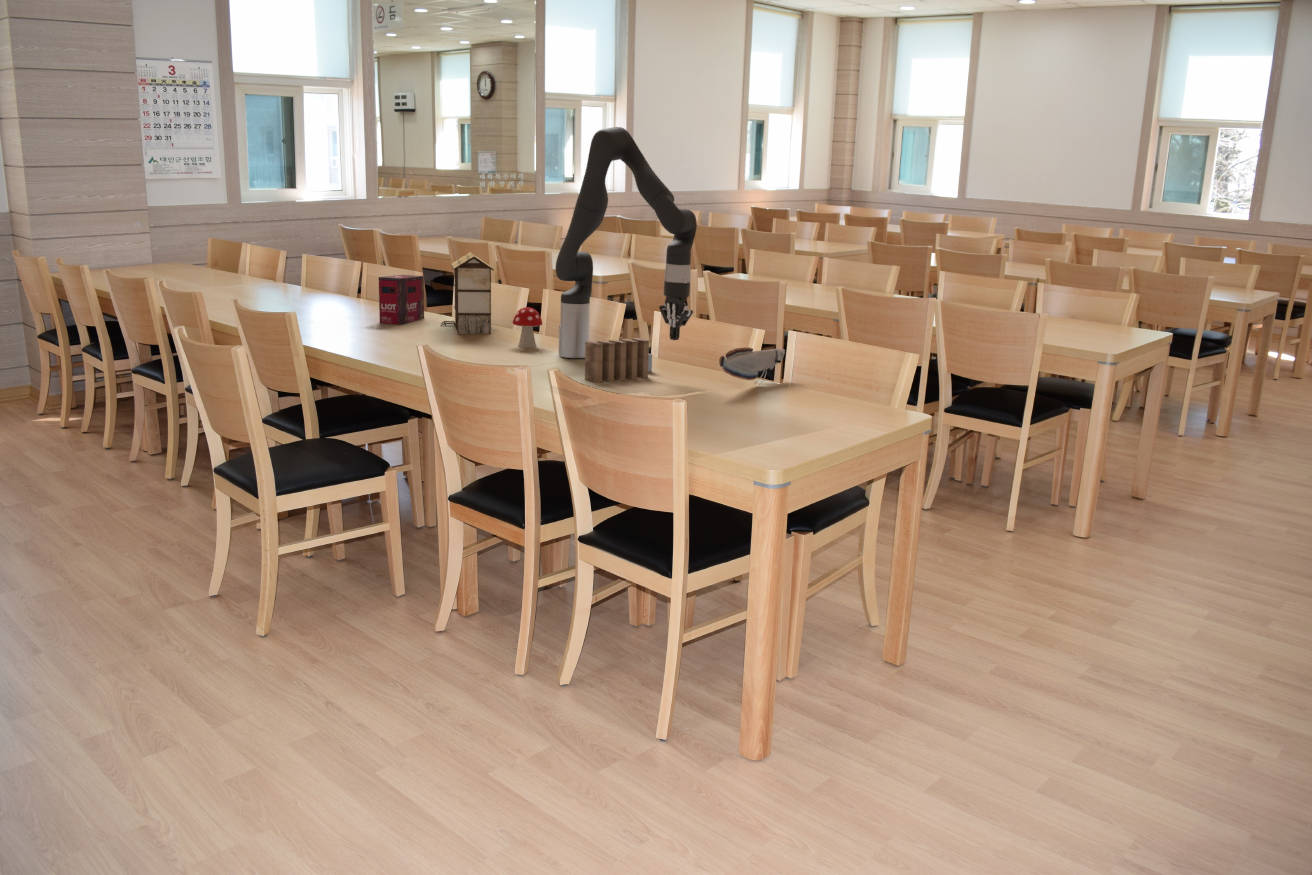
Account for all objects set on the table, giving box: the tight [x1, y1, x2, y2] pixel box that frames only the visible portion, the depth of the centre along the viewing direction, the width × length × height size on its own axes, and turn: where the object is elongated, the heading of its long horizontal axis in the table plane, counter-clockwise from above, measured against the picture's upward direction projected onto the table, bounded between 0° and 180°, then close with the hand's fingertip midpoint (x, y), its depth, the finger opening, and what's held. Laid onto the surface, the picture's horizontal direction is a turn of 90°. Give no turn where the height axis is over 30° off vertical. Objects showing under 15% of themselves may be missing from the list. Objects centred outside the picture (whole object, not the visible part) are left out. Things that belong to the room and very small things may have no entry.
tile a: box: [631, 337, 650, 378], centre depth 298 cm, size 6×2×11 cm, turn 39°
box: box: [378, 274, 425, 326], centre depth 379 cm, size 16×9×20 cm, turn 162°
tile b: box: [620, 338, 638, 380], centre depth 296 cm, size 6×2×11 cm, turn 39°
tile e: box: [584, 340, 603, 384], centre depth 288 cm, size 6×2×11 cm, turn 39°
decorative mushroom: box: [512, 306, 543, 349], centre depth 336 cm, size 10×9×15 cm
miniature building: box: [440, 252, 495, 335], centre depth 365 cm, size 25×19×30 cm
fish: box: [718, 347, 786, 386], centre depth 288 cm, size 34×7×12 cm, turn 137°
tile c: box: [608, 339, 626, 381], centre depth 293 cm, size 6×2×11 cm, turn 39°
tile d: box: [596, 340, 615, 382], centre depth 290 cm, size 6×2×11 cm, turn 39°
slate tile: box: [648, 353, 653, 373], centre depth 308 cm, size 6×2×11 cm
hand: (674, 339), depth 294 cm, fingers closed
